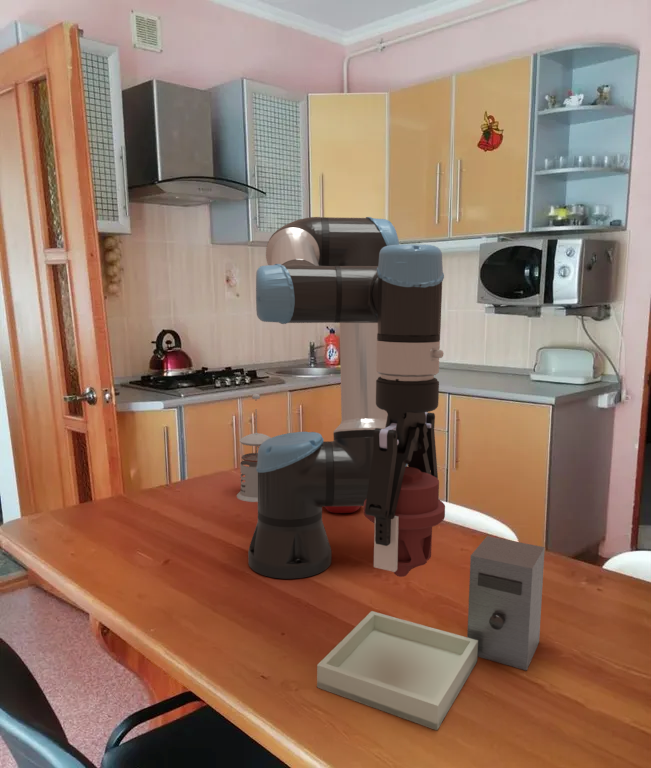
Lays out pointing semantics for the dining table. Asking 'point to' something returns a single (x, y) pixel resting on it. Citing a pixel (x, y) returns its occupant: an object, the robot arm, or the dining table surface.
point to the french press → (250, 465)
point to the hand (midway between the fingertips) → (403, 552)
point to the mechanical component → (416, 518)
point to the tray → (399, 668)
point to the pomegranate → (342, 509)
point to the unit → (506, 600)
